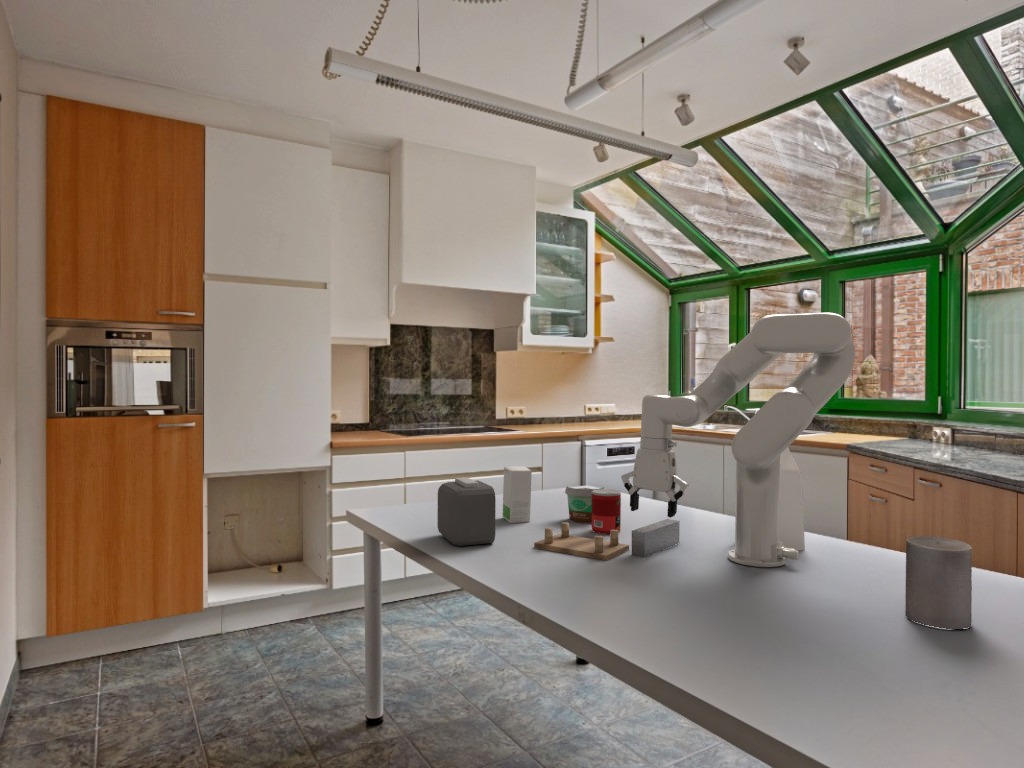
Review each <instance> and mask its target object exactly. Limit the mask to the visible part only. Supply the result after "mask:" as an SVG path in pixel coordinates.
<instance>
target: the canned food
mask: <svg viewBox="0 0 1024 768" xmlns="http://www.w3.org/2000/svg"><path fill="white" fill-rule="evenodd" d="M596 489H597V490H593V491H592V523H591V531H592V532H594V533H597V534H603V535H610V530H618V533H620V531H621V525H622V524H621V520H622V519H621V515H622V514H621V513H622V510H621V507H622V502H621V501H622V497H621V495H622V493H621V491H620V490H616V489H609V488H608V489H607V488H604V489H600V488H596Z"/></svg>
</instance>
